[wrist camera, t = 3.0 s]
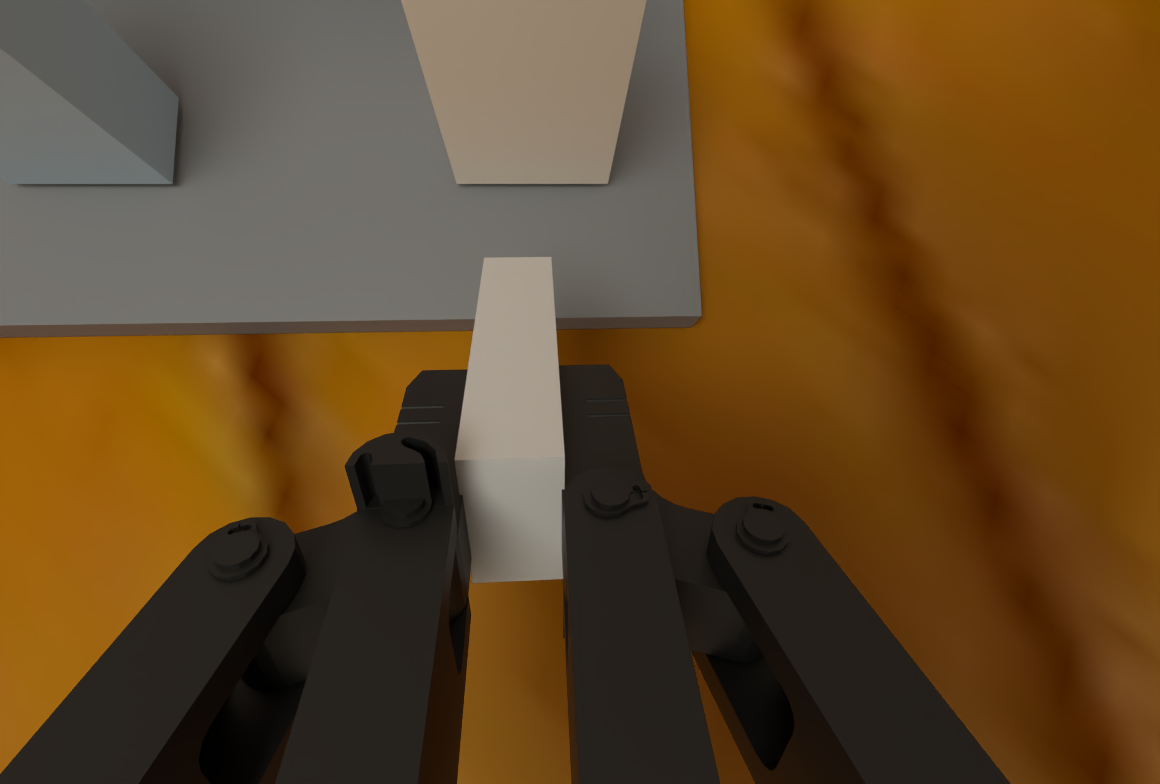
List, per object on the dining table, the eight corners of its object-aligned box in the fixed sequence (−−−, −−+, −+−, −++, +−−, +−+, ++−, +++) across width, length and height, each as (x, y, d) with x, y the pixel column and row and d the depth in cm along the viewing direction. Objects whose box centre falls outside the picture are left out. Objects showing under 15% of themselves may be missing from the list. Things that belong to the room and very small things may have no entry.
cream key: (604, 101, 21) (671, -325, 10) (607, 183, 20) (681, -164, 9) (456, 100, 20) (352, -341, 9) (456, 183, 20) (348, -175, 9)
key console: (668, -70, 24) (701, -214, 19) (690, 327, 21) (734, 281, 16) (-3, -86, 22) (-160, -248, 17) (-54, 337, 20) (-252, 292, 15)
